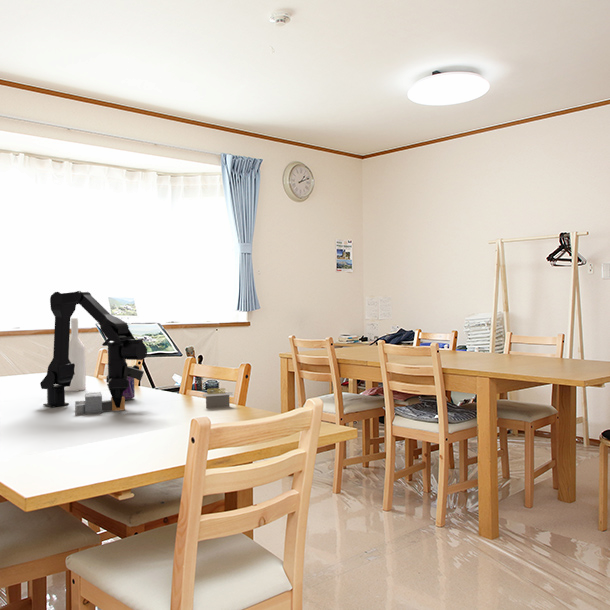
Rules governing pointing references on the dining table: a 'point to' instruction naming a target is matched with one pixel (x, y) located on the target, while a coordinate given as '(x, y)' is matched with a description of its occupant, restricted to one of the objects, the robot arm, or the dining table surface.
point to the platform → (217, 398)
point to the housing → (89, 404)
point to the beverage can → (129, 389)
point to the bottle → (77, 359)
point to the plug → (111, 405)
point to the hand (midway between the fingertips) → (117, 406)
